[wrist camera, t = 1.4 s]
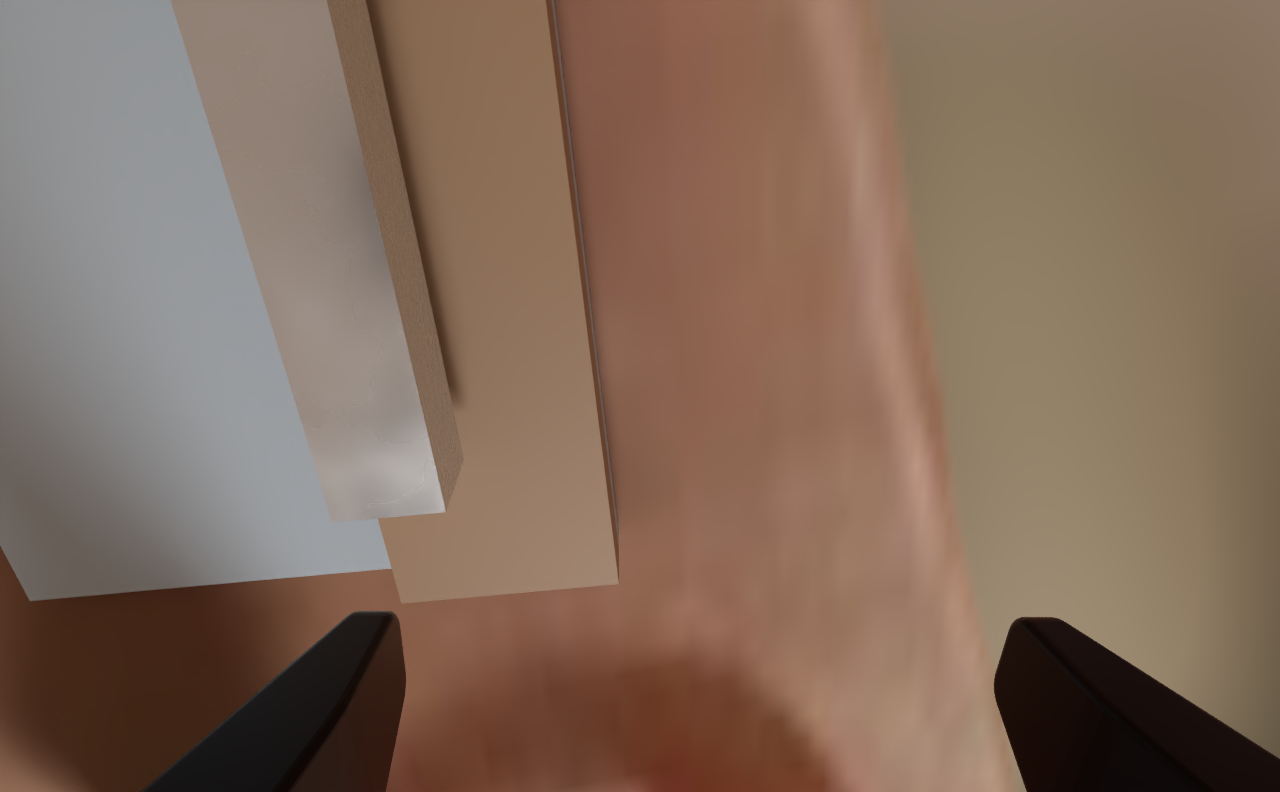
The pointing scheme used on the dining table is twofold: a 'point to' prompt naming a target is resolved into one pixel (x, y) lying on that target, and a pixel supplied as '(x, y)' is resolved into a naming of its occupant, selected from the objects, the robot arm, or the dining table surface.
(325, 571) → the door board
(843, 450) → the dining table surface
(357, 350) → the latch bar
